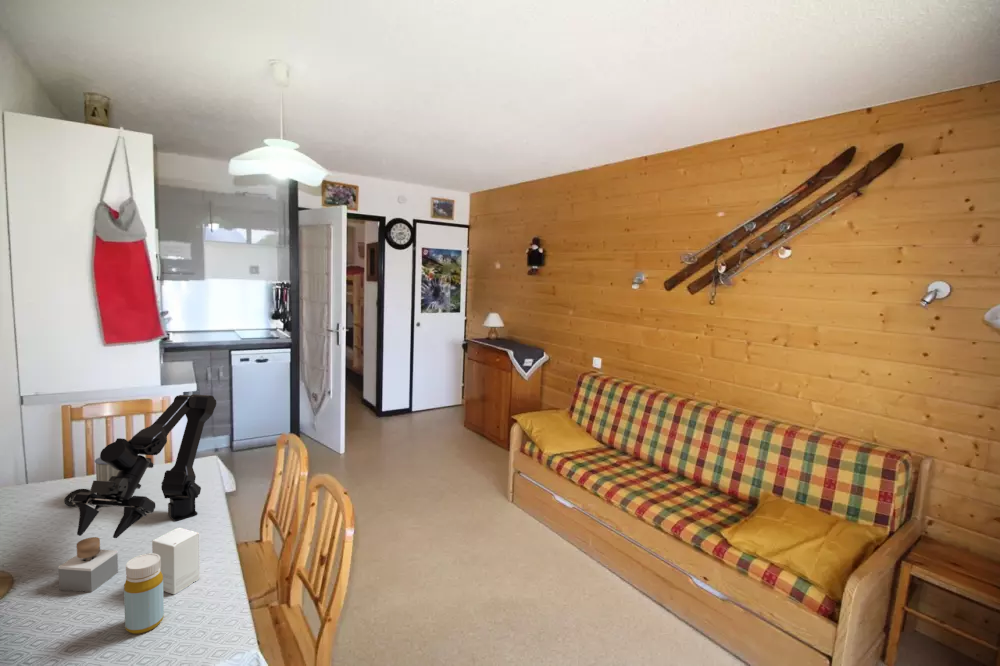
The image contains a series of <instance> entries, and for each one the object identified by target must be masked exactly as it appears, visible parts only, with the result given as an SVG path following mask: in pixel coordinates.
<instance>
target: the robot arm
mask: <svg viewBox="0 0 1000 666" xmlns="http://www.w3.org/2000/svg"><path fill="white" fill-rule="evenodd" d="M216 406H217V399H215V397H214V396H213V395H208V394H193V393H192V394H191V395H186V394H179V395H176V396H174V399H173V402H171V404H169V406H168V407H167V408H166V409H165V410H164V411H163V412H162V413H161V414H160V415H159V417H158V418H156V420H155V421H154V422H153V423H152V424H151V425H149V426H148V427H145V428H142V429H141V430H139V431H138V432H136V434H134V435H133V436H132V438H131V439H129V440H127V439H126V438H122V437H121V438H120V437H119V438H116V440H115V442H111V443H109V444H108V445H106V446H105V447H104V448H102V450H101V451H100V454H99V457H100V458H101V460H103V461H104V462H105V463H107V464H108V465H110V466H111V467H113V468H114V469H116V470H119V472H118V473H117V475H116V476H112V477H111V478H110V479H109V481H97V480H93V481H92V483H91V487H90V489H89V490H90V493H88V492H80V493H78V494H76V495H75V496H74V498H73V500H72V501H71V502H73V503H75V507H77V508H78V511H79V520H78V525H77V532H76V535H77V536H82V535H84V533H85V532H86V530H87V529H88V528H89V526H90V525H91V524H92V523H93V521H94V519H96V517H97V516H98V514H99V512H100V511H99V510H98V509H100V508H102V507H118V508H123V515H122V517H121V519H120V521H119V522H118V524H117V527H116V528H115V531H114V533H113V535H112V537H113V538H114V539H117V538H119V537H120V536H121V535H122V534H123V533H124V532H125V531H127V530H128V529H129V528H130V527H131V526H132V525H134V524H135V523H136V522H138V521H139V520H140V519H142V518H143V517H147V516H148V514H150V515H151V514H154V510H155V508H156V502H155V501H153V500H152V499H150V498H149V497H148V496H146V495H145V496H143V495H134V494H135V492H136V490H139V489H140V488H141V487H142V484H141V483H140V482H141V480H142V479H143V476H144V474H145V472H146V471H147V469H153V468H154V463H153V461H152V458H151V457H145V456H143V455H146V456H157V455H159V454H160V453H161V452H162V450H163V448H164V447H165V445H166V444H167V442H168V435H169V433H171V431H172V430H173V429H174V428H175V426H177V424H178V423H179V422H180V421H181V420H182V418H183V417H184V416H185V417H186V419H187V420H186V424H185V427H184V428H185V429H184V431H183V434H182V439H181V442H180V445H179V449H178V453H177V456H176V460H175V463H174V466H173V467H171V468H170V470H169V469H168V470H166V471H165V472H164V475H163V479H162V481H161V492H162V494H163V497H164V499H169V502H168V503H167V516H168V517H170V518H171V519H172V520H173V521H175V522H177V521H181V520H183V519H187V518H190V517H193V516H197V515H198V514H199V513H198V512H197V511H196V499H197V498H199V496H200V494H201V490H202V488H201V486H200V485H199V484H197V483H196V473H195V471H194V467H193V466H194V464H195V463H194V462H195V459H196V455H197V452H198V449H199V448H198V447H199V445H200V444H199V443H200V440H201V438H202V434H203V430H204V427H205V424H206V421H208V420H209V419H210V418H211V417H212V416H213V413H214V411H215V409H216ZM94 493H95V494H94ZM97 493H99V495H101V496H104V498H101V497H99V496H97V495H96V494H97ZM110 502H112V503H110Z"/></svg>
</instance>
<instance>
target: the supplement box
mask: <svg viewBox="0 0 1000 666" xmlns="http://www.w3.org/2000/svg"><path fill="white" fill-rule="evenodd" d="M151 545H152V547H151V548H152V553H153V554H158V555H159V556H160V561H161V566H160V571H161V573H162V575H163V592H166V593H168V594H172V595H176V594H178V593H180V592H181V591H182V590H184V589H186V588H187V587H189V586H191V585H192V584H194V583H196V582H198V580H201V570H200V569H201V568H200V567H201V566H200V564H201V563H200V560H201V559H200V533H199V532H196V531H192V530H191V529H190V530H189V529H186V528H184V527H183V528H182V527H176V528H175V529H173V530H170V531H168V532H166V533H164V534H162V535H161V536H158V537H156V538H155V539H152V541H151ZM195 581H196V582H195ZM193 582H194V583H193ZM190 584H191V585H190Z"/></svg>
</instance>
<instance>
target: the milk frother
mask: <svg viewBox="0 0 1000 666" xmlns="http://www.w3.org/2000/svg"><path fill="white" fill-rule="evenodd" d="M94 463H95V474H96V475H95V476H96V478H95V481H109V479H110V478H111V477H112V476H116V475H117V473H118V472H119V470H116V469H114V468H113V467H111V466H110V465H108V464H107V463H105V462H104V461H103V460H101V458H100V456H99V457H97V458H96V459H95V460H94ZM90 490H91V489H88V488H78V489H74V490H73V491H71V492H70V493H68V494H66V496H65V498H63V499H64V500H63V501H64V502H63V503H64V505H65V506H67V507H70V508H71V507H73V508H74V507H76V506H75V503H73V502H71V501H72V500H73V498H74V496H75V495H76V494H78V493H80V492H88V493H90ZM94 494H96V495H97V496H99V497H101V498H104V496H101V495H99V493H94ZM110 503H112V502H110Z"/></svg>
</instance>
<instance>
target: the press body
mask: <svg viewBox="0 0 1000 666" xmlns="http://www.w3.org/2000/svg"><path fill="white" fill-rule="evenodd" d="M118 556H119V555H118V550H109V549H100V552H99V553H98V554H96V555H94V556H92V560H91V561H86V558H78V557H77V554H76V555H74V556H72V557H71V558H69V559H68V560H67V561H65V562H64V563H62V564H61V565H58V581H59V582H58V583H59V584H58V586H59V587H58V588H59V590H60V591H70V590H73V591H72V592H83V591H85V592H86V593H93V592H94V591H95V590H97V589H98V588H99V587H102V585H103V584H105V583H106V582H107V581H109V580H110V579H111V578H113V577H115V575H117V574H118V573H119V563H118V562H119V560H118Z"/></svg>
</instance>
